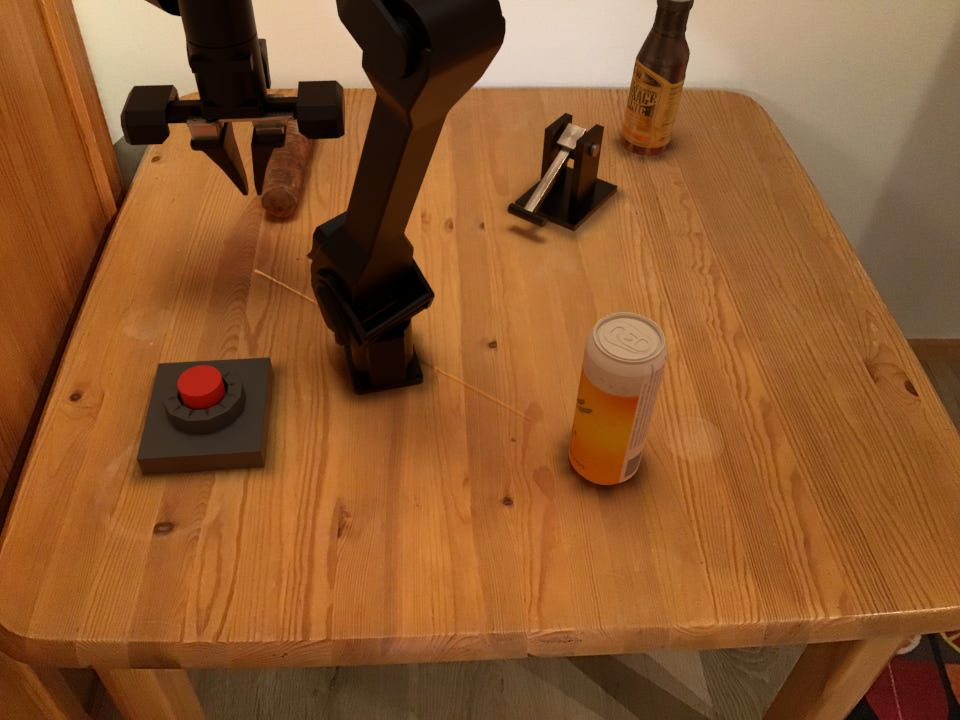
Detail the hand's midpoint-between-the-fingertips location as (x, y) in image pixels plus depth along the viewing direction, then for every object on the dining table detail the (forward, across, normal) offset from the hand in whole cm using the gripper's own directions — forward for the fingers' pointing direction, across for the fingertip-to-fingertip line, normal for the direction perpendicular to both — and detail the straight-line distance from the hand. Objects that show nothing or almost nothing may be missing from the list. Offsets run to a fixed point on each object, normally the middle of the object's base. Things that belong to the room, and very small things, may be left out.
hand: (253, 192), depth 81 cm
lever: (+6, -31, -9) cm, 33 cm away
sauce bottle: (+11, -46, -23) cm, 52 cm away
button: (+7, +4, +19) cm, 21 cm away
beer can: (+11, -30, +26) cm, 41 cm away
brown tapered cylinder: (+11, -1, -20) cm, 23 cm away
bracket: (+11, -33, -12) cm, 37 cm away
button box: (+11, +4, +19) cm, 22 cm away
